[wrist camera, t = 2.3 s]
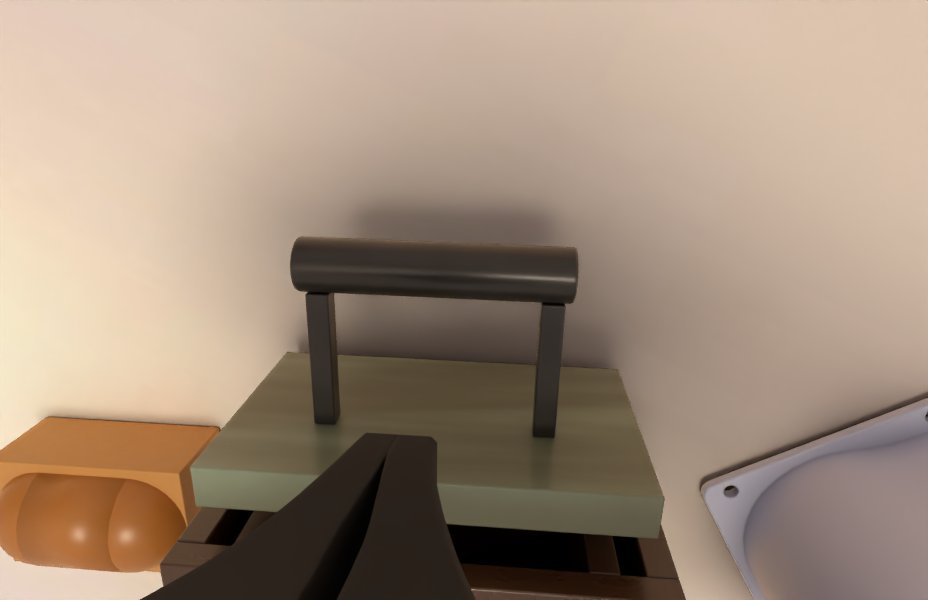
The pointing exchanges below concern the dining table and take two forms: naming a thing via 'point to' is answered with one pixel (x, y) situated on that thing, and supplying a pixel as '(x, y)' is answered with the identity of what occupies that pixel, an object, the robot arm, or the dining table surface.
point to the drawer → (450, 412)
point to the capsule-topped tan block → (98, 492)
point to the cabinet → (472, 566)
